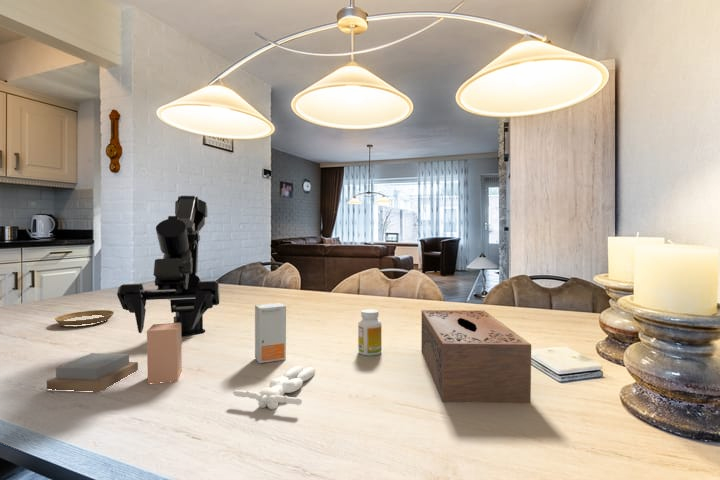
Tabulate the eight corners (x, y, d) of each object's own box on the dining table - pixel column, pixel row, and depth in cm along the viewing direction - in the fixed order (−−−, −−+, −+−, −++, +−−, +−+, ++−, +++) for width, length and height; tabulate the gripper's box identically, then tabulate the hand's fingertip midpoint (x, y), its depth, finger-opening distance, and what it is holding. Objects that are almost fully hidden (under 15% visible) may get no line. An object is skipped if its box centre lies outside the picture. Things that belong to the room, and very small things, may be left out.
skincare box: (259, 364, 79) (258, 308, 79) (254, 358, 83) (254, 304, 83) (287, 360, 82) (286, 305, 82) (281, 354, 86) (281, 302, 85)
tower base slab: (92, 373, 76) (91, 361, 76) (138, 374, 76) (137, 362, 75) (47, 394, 66) (46, 380, 66) (99, 396, 66) (99, 382, 66)
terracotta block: (154, 374, 74) (153, 324, 74) (181, 371, 75) (181, 322, 75) (147, 384, 69) (146, 331, 69) (177, 381, 70) (176, 328, 70)
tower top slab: (92, 363, 75) (91, 353, 75) (129, 364, 74) (128, 354, 74) (56, 378, 67) (55, 367, 67) (97, 379, 67) (96, 368, 66)
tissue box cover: (421, 352, 88) (421, 310, 87) (483, 353, 87) (483, 310, 87) (442, 403, 62) (442, 343, 62) (530, 404, 61) (531, 344, 61)
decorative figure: (280, 361, 77) (228, 386, 60) (336, 367, 74) (297, 395, 57) (280, 378, 77) (227, 408, 60) (335, 385, 74) (296, 418, 56)
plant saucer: (41, 328, 109) (41, 319, 109) (86, 316, 124) (86, 309, 124) (85, 330, 107) (84, 321, 107) (125, 318, 122) (125, 310, 121)
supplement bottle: (384, 350, 88) (384, 309, 88) (376, 357, 83) (376, 314, 83) (364, 347, 91) (364, 307, 90) (354, 354, 86) (354, 312, 85)
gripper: (119, 244, 75) (99, 310, 65) (218, 243, 81) (214, 303, 70) (131, 279, 83) (115, 342, 73) (220, 275, 88) (217, 334, 78)
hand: (166, 330), depth 73 cm, fingers open, 9 cm apart
